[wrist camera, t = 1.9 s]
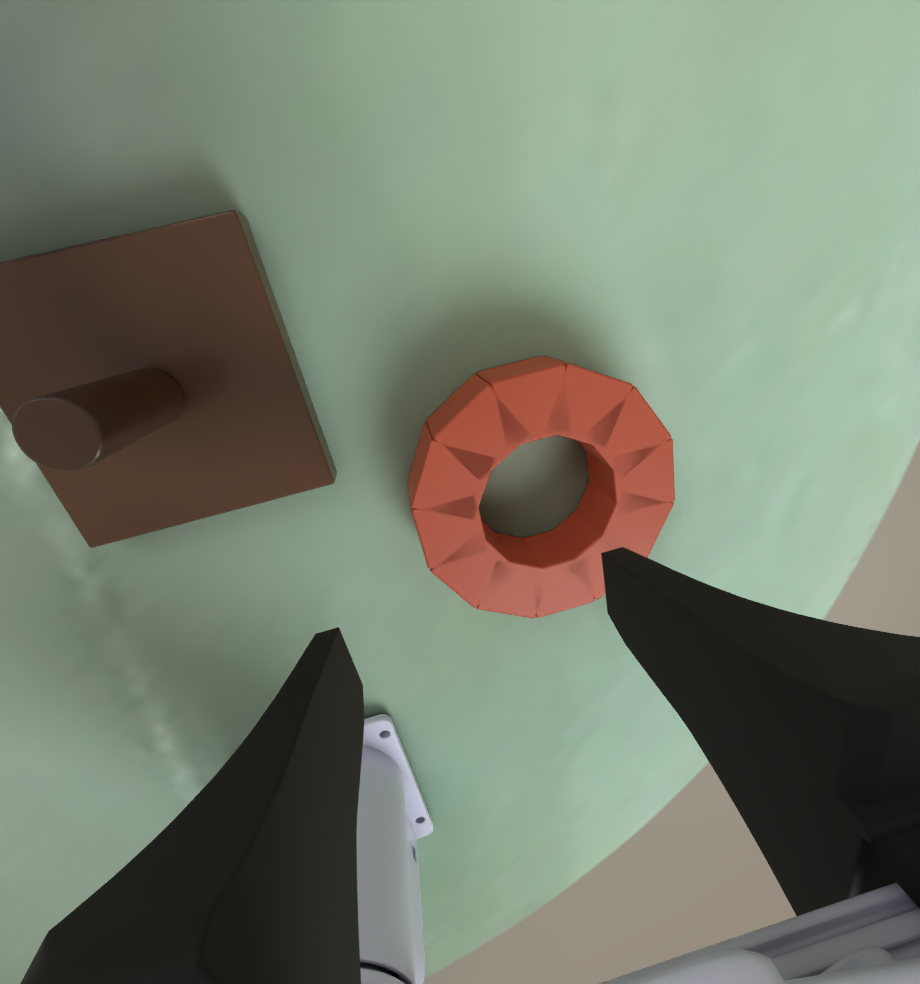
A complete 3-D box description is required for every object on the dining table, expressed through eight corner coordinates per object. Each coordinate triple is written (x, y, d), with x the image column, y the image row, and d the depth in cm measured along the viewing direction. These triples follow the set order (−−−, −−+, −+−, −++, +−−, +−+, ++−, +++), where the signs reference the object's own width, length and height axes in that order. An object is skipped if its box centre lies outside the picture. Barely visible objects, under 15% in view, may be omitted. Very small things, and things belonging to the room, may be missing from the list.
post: (337, 473, 18) (318, 549, 13) (107, 534, 18) (-22, 642, 12) (246, 215, 15) (161, 159, 9) (-47, 282, 14) (-332, 267, 8)
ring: (645, 548, 22) (678, 578, 20) (442, 606, 21) (450, 644, 19) (631, 332, 18) (669, 335, 16) (381, 395, 17) (381, 410, 15)
